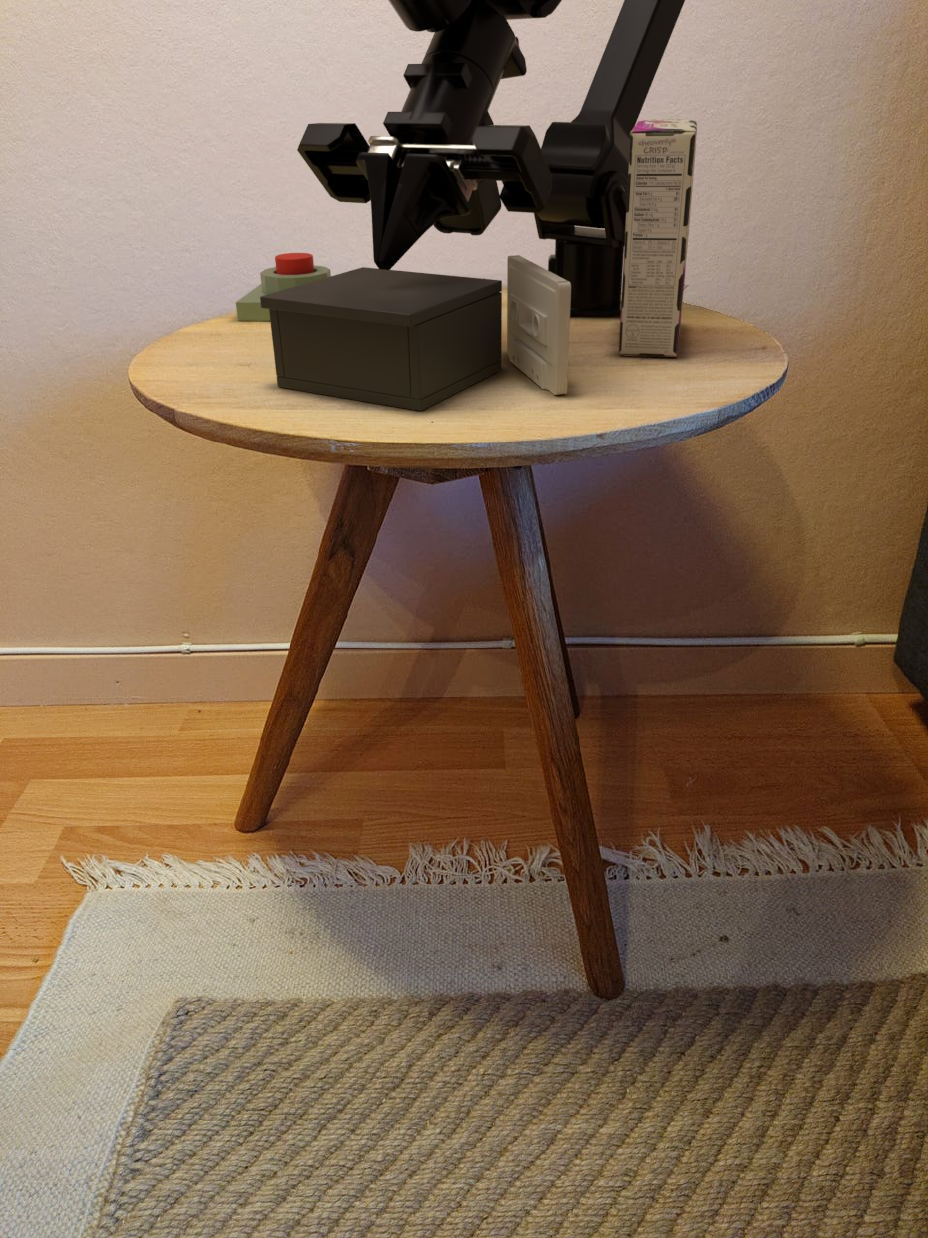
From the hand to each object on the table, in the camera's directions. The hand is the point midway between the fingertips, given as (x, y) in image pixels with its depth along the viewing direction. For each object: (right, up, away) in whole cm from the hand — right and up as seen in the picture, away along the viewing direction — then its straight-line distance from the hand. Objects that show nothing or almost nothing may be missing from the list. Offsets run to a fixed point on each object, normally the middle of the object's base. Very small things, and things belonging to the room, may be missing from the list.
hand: (381, 266), depth 68 cm
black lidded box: (0, -7, +5) cm, 8 cm away
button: (-10, +8, +25) cm, 28 cm away
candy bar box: (+21, -2, +13) cm, 25 cm away
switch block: (-10, +6, +26) cm, 29 cm away
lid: (0, -2, +1) cm, 2 cm away
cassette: (+11, -6, +5) cm, 14 cm away
